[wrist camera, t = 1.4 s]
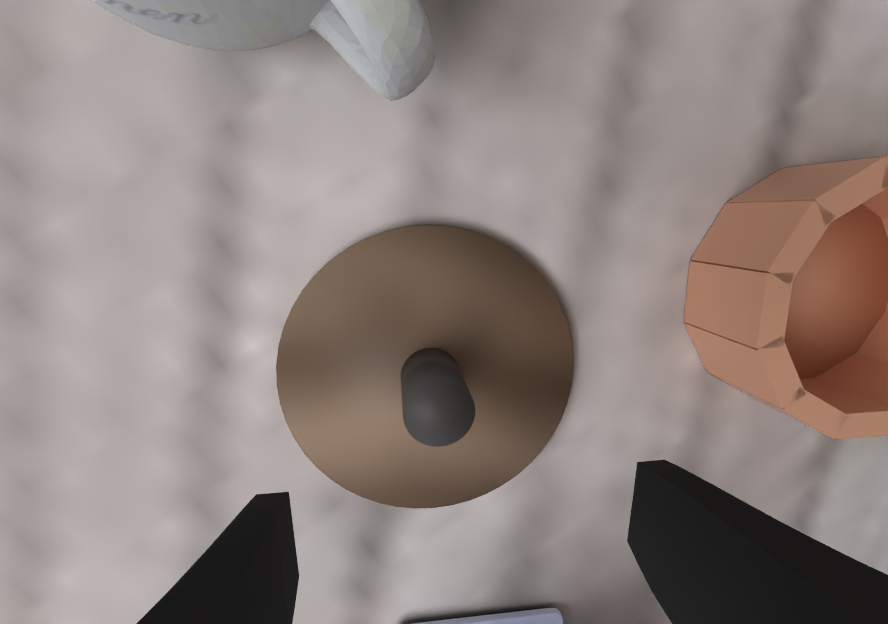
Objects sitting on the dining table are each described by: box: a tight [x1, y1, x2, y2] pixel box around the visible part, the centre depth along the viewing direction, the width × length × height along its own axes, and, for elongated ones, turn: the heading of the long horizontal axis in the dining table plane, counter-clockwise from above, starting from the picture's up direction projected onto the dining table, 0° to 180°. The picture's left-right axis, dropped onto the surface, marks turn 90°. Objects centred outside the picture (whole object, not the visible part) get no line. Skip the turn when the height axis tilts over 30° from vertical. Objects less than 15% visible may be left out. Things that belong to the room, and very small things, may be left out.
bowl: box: [684, 156, 888, 439], centre depth 18 cm, size 10×10×4 cm
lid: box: [276, 225, 573, 508], centre depth 17 cm, size 12×12×4 cm
